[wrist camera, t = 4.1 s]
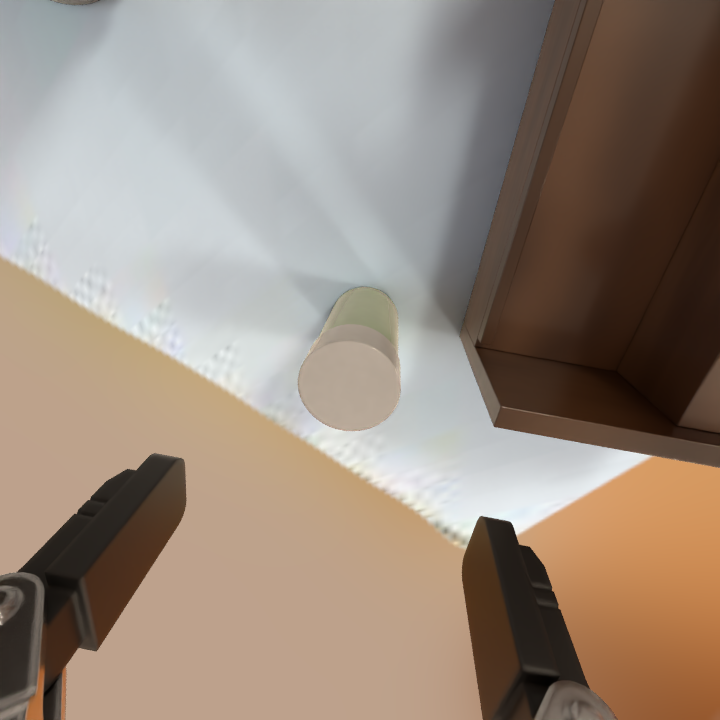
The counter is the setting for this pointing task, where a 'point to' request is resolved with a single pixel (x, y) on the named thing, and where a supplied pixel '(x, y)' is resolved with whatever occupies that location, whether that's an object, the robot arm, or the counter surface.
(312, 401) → the cylinder
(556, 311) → the spice rack
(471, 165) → the counter surface
